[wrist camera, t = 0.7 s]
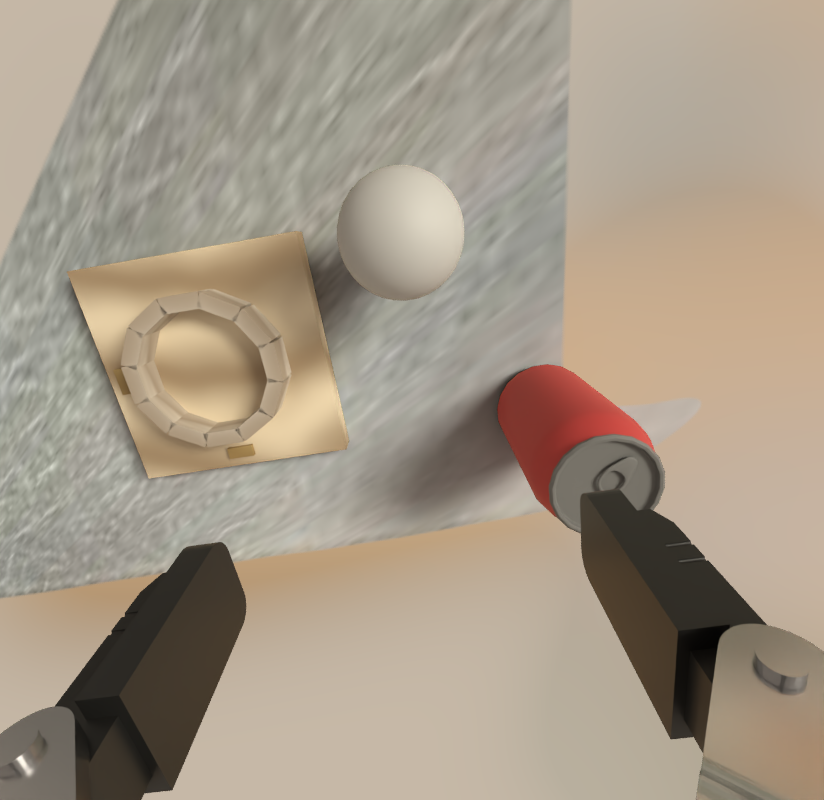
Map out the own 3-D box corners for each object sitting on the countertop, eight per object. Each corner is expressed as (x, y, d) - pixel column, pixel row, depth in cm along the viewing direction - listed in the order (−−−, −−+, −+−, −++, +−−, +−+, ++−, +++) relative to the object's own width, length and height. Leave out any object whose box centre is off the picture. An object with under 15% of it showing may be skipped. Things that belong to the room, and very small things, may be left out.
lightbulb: (452, 283, 30) (473, 302, 20) (362, 290, 30) (335, 312, 20) (448, 184, 28) (469, 145, 18) (352, 191, 28) (316, 158, 18)
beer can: (604, 396, 33) (706, 475, 21) (544, 461, 34) (609, 567, 23) (535, 344, 31) (605, 398, 20) (477, 415, 33) (511, 502, 22)
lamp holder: (83, 270, 30) (42, 273, 26) (301, 232, 29) (287, 229, 26) (159, 468, 35) (132, 492, 31) (349, 440, 34) (342, 461, 30)
